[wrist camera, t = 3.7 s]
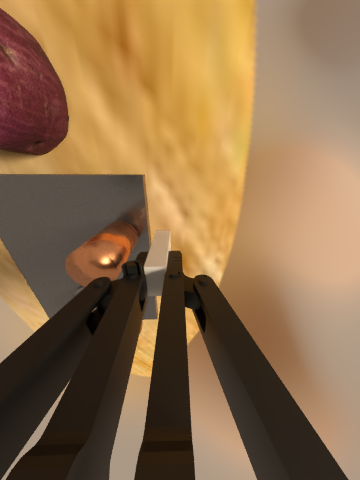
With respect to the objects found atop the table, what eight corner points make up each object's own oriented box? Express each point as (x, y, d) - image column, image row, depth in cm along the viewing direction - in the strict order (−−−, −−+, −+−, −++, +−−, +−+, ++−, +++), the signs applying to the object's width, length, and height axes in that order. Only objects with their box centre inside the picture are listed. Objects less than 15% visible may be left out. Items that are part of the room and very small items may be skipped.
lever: (97, 328, 25) (72, 378, 19) (67, 318, 24) (29, 369, 18) (147, 232, 17) (131, 266, 11) (106, 211, 16) (62, 236, 10)
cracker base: (-25, 174, 17) (-159, 176, 10) (144, 174, 17) (123, 176, 10) (55, 314, 28) (17, 360, 21) (158, 313, 28) (152, 357, 21)
